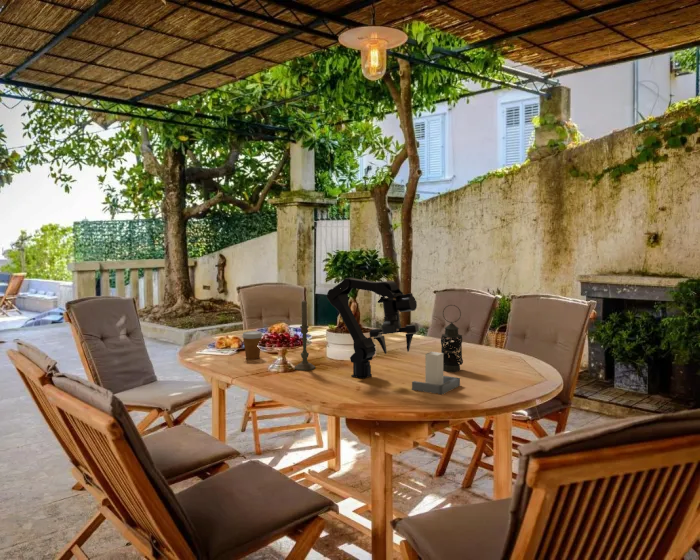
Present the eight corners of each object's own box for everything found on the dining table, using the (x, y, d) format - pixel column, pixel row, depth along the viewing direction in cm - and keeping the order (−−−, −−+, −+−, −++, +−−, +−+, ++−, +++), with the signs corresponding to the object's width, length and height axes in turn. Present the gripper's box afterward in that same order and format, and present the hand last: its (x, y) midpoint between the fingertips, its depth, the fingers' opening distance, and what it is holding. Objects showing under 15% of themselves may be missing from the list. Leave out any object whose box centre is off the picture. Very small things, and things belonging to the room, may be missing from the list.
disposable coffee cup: (239, 357, 283) (238, 332, 282) (257, 354, 289) (256, 330, 288) (248, 360, 276) (247, 335, 275) (266, 358, 281) (266, 332, 280)
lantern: (463, 368, 256) (464, 303, 254) (462, 373, 248) (462, 306, 246) (441, 367, 259) (441, 303, 257) (438, 371, 250) (438, 305, 248)
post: (425, 387, 224) (425, 353, 223) (431, 385, 228) (431, 351, 227) (437, 389, 221) (437, 355, 220) (443, 386, 226) (443, 353, 225)
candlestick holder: (302, 365, 265) (301, 298, 263) (319, 367, 261) (318, 299, 258) (290, 369, 258) (289, 300, 255) (307, 371, 253) (306, 301, 251)
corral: (412, 389, 222) (412, 381, 222) (430, 381, 234) (430, 373, 234) (442, 394, 215) (442, 386, 214) (459, 385, 227) (459, 378, 227)
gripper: (362, 317, 229) (368, 357, 229) (409, 312, 223) (415, 353, 222) (371, 315, 239) (376, 353, 239) (416, 309, 233) (421, 349, 233)
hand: (396, 352), depth 233 cm, fingers open, 9 cm apart
